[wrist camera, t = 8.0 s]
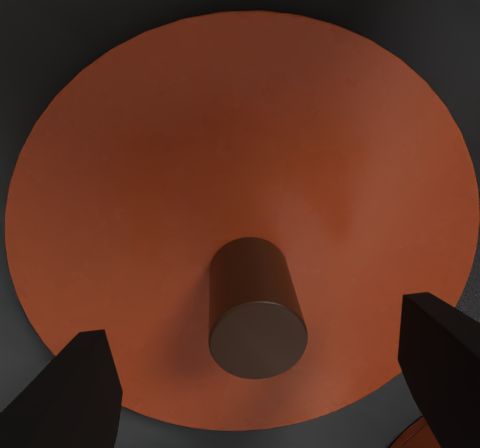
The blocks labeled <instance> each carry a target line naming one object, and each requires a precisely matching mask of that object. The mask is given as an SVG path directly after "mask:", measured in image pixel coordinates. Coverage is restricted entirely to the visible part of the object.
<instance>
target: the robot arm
mask: <svg viewBox="0 0 480 448" xmlns="http://www.w3.org/2000/svg"><path fill="white" fill-rule="evenodd" d="M397 360H398V363H399V365H400V368H401V370H402V373H403V375H404V378H405V380H406V382H407V385H408V387H409V389H410V392H411V394H412V396H413V399H414V401H415V402H416V404H417V406H418V408H419V410H420V411H421V413H422V415H423V417H424V419H425V420H426V422H427V424H428V426H429V428H430V429H431V431H432V433H433V435H434V436H435V438H436V440H437V442H438V443H439V445H440V447H441V448H480V323H479V322H477V321H475V320H474V319H472V318H471V317H469V316H467V315H466V314H464V313H463V312H461V311H459V310H458V309H456V308H454V307H453V306H451V305H450V304H448V303H446V302H445V301H443V300H441V299H440V298H438V297H436V296H435V295H433V294H431V293H429V292H422V293H413V294H405V295H403V298H402V311H401V323H400V335H399V347H398V359H397ZM122 396H123V390H122V387H121V384H120V380H119V377H118V373H117V370H116V367H115V363H114V360H113V356H112V353H111V349H110V346H109V343H108V339H107V336H106V332H105V329H101V330H93V331H84V332H79V333H78V334H77V335H76V336H75V337H74V338H73V339H72V340H71V341H70V342H69V343H68V344H67V345H66V346H65V347H64V348H63V349H62V350H61V351H60V352H59V353H58V354H57V356H56V357H55V358H54V359H53V360H52V361H51V362H50V363H49V364H48V365H47V366H46V367H45V368H44V369H43V370H42V371H41V373H40V374H39V375H38V376H37V377H36V378H35V379H34V380H33V381H32V382H31V383H30V384H29V385H28V386H27V387H26V388H25V389H24V390H23V391H22V392H21V393H20V394H19V395H18V396H17V397H16V398H15V399H14V400H13V401H12V402H11V403H10V404H9V405H8V406H7V407H6V408H5V409H4V410H3V411H2V412H1V413H0V448H114V445H115V441H116V437H117V432H118V425H119V419H120V412H121V404H122Z"/></svg>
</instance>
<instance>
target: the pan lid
mask: <svg viewBox="0 0 480 448" xmlns="http://www.w3.org/2000/svg"><path fill="white" fill-rule="evenodd" d="M479 220H480V213H479V194H478V186H477V181H476V177H475V172H474V167H473V162H472V159H471V157H470V154H469V151H468V149H467V146H466V144H465V141H464V138H463V136H462V133H461V131H460V130H459V128H458V126H457V124H456V123H455V121H454V119H453V117H452V116H451V114H450V112H449V111H448V109H447V107H446V106H445V104H444V103H443V102H442V101H441V100H440V98H439V97H438V96H437V95H436V93H435V92H434V91H433V90H432V88H431V87H430V86H429V85H428V84H427V82H426V81H425V80H424V79H423V78H421V77H420V76H419V75H418V74H417V73H416V72H415V71H414V70H412V69H411V68H410V67H409V66H408V65H407V64H406V63H405V62H403V61H402V60H401V59H400V58H398V57H397V56H395V55H394V54H392V53H391V52H389V51H388V50H386V49H384V48H383V47H381V46H380V45H378V44H377V43H375V42H374V41H372V40H370V39H368V38H366V37H364V36H361V35H359V34H357V33H354V32H352V31H350V30H348V29H345V28H343V27H341V26H339V25H336V24H332V23H329V22H325V21H321V20H318V19H314V18H310V17H306V16H303V15H298V14H289V13H280V12H272V11H263V10H255V11H225V12H217V13H211V14H206V15H200V16H195V17H189V18H184V19H180V20H177V21H175V22H172V23H169V24H166V25H163V26H160V27H157V28H154V29H151V30H148V31H145V32H143V33H141V34H139V35H137V36H135V37H134V38H132V39H130V40H128V41H126V42H124V43H122V44H120V45H118V46H116V47H114V48H112V49H111V50H109V51H108V52H106V53H105V54H104V55H102V56H101V57H99V58H98V59H97V60H95V61H94V62H93V63H91V64H90V65H88V66H87V67H86V68H84V69H83V70H81V71H80V72H79V73H78V74H77V75H76V76H75V77H74V78H73V79H72V80H71V81H70V82H69V83H68V84H67V85H66V86H65V87H64V88H63V89H62V90H61V91H60V92H59V93H58V94H57V95H56V96H55V97H54V99H53V100H52V101H51V103H50V104H49V105H48V107H47V108H46V110H45V111H44V112H43V114H42V115H41V116H40V118H39V119H38V120H37V122H36V123H35V125H34V127H33V129H32V130H31V132H30V134H29V136H28V138H27V140H26V142H25V144H24V146H23V148H22V150H21V152H20V154H19V157H18V160H17V163H16V166H15V169H14V172H13V175H12V178H11V181H10V185H9V191H8V198H7V204H6V210H5V246H6V252H7V259H8V265H9V271H10V274H11V277H12V281H13V284H14V287H15V290H16V294H17V297H18V299H19V301H20V303H21V305H22V307H23V309H24V311H25V313H26V315H27V317H28V320H29V321H30V323H31V324H32V326H33V327H34V329H35V330H36V332H37V333H38V335H39V336H40V338H41V340H42V341H43V342H44V344H45V345H46V346H47V347H48V348H49V349H50V351H51V352H52V353H53V354H54V355H55V356H57V354H58V353H59V352H60V351H61V350H62V349H63V348H64V347H65V346H66V345H67V344H68V343H69V342H70V341H71V340H72V339H73V338H74V337H75V336H76V335H77V334H78V333H79V332H84V331H93V330H101V329H105V332H106V336H107V339H108V343H109V346H110V349H111V353H112V356H113V360H114V363H115V367H116V370H117V373H118V377H119V380H120V384H121V387H122V390H123V396H122V404H121V406H124V407H126V408H128V409H131V410H133V411H135V412H138V413H140V414H142V415H145V416H148V417H151V418H154V419H157V420H161V421H164V422H167V423H172V424H176V425H181V426H186V427H191V428H199V429H207V430H218V431H247V430H261V429H269V428H276V427H282V426H288V425H292V424H296V423H300V422H304V421H308V420H312V419H315V418H318V417H320V416H323V415H326V414H329V413H332V412H334V411H337V410H339V409H341V408H343V407H345V406H348V405H350V404H352V403H354V402H356V401H358V400H360V399H362V398H363V397H365V396H367V395H368V394H370V393H372V392H374V391H375V390H377V389H379V388H380V387H382V386H383V385H384V384H386V383H387V382H388V381H390V380H391V379H392V378H394V377H395V376H397V375H398V374H399V373H400V372H402V370H401V368H400V365H399V363H398V360H397V359H398V347H399V335H400V323H401V311H402V298H403V295H405V294H413V293H422V292H429V293H431V294H433V295H435V296H436V297H438V298H440V299H441V300H443V301H445V302H446V303H448V304H450V305H451V306H453V307H454V308H455V306H456V304H457V302H458V300H459V298H460V297H461V295H462V292H463V290H464V287H465V284H466V282H467V279H468V277H469V274H470V272H471V268H472V264H473V260H474V256H475V252H476V247H477V241H478V231H479Z"/></svg>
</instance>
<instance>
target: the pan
mask: <svg viewBox="0 0 480 448" xmlns="http://www.w3.org/2000/svg"><path fill="white" fill-rule="evenodd" d="M390 448H441V447H440V445H439V443H438V442H437V440H436V438H435V436H434V435H433V433H432V431H431V429H430V428H429V426H428V424H427V422H426V420H425V419H424V417H421V418H420V419H419V420H417V421H416V422H415V423H414V424H413V425H411V426H410V427H409V428H408V429H407V430H405V431H404V432H403V433H402V434H401V436H400V437H399V438H398V439H397V440H396V441H395V442H394V443H393V444H392V445H391V447H390Z"/></svg>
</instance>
